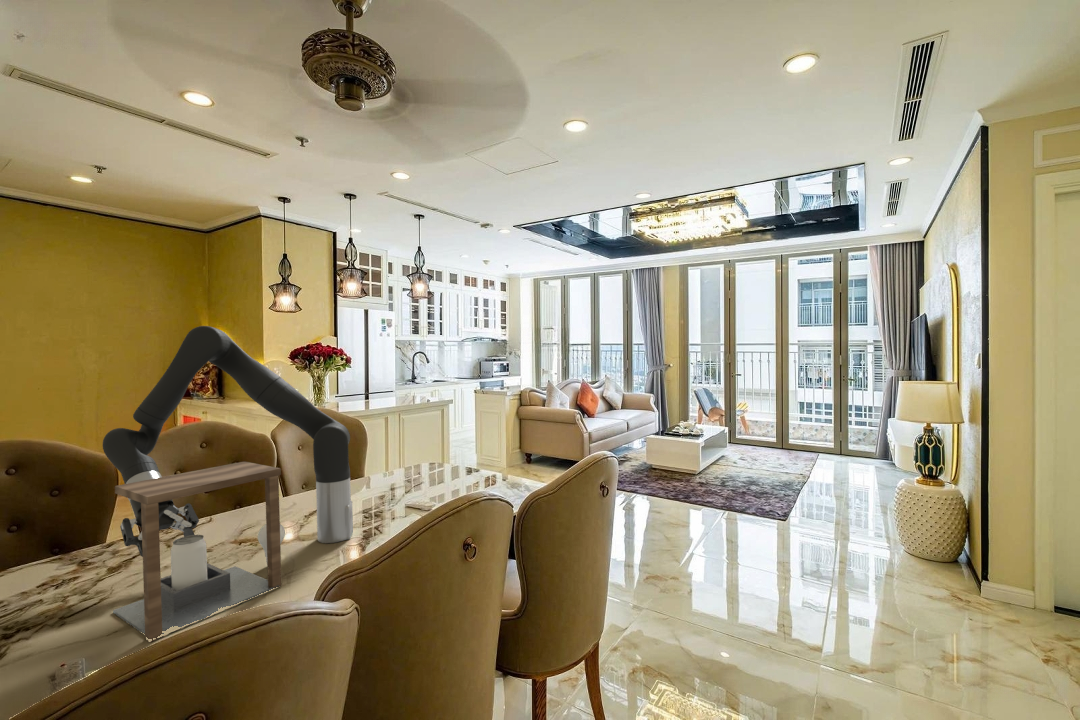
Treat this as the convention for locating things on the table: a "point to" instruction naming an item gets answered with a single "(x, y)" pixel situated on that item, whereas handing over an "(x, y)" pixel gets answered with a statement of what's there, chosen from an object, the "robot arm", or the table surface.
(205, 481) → the wooden arch stand
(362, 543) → the table surface
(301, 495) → the table surface
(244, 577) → the socket
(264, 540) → the lightbulb
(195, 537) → the can
